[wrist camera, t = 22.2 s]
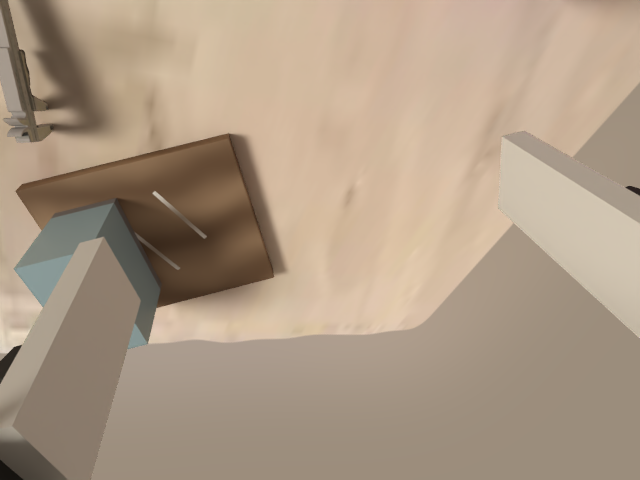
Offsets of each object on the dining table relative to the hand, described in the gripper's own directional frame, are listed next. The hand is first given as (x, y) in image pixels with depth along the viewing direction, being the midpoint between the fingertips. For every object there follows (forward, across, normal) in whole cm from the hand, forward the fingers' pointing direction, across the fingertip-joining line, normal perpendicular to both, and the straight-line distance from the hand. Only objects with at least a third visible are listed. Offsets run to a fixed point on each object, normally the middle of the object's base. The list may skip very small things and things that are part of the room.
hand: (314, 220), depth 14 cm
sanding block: (+27, -20, -14) cm, 37 cm away
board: (+29, -15, -14) cm, 35 cm away
